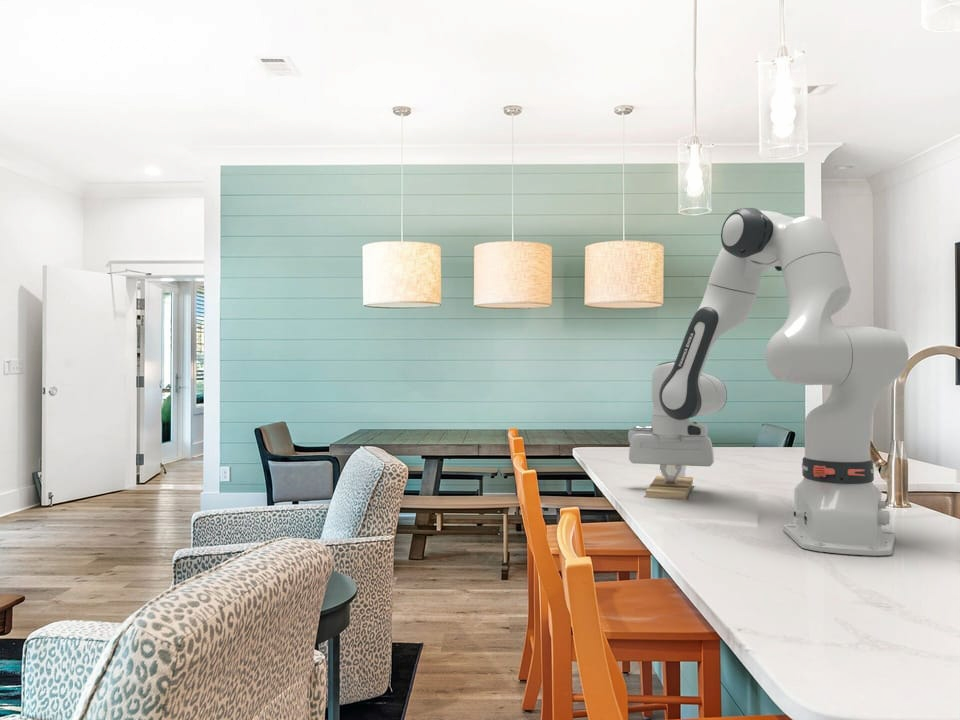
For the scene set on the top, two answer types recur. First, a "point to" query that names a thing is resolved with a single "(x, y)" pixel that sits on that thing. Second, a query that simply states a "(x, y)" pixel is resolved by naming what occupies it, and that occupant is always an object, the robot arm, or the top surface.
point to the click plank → (680, 483)
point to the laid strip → (667, 492)
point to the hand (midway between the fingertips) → (671, 483)
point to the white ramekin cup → (674, 471)
